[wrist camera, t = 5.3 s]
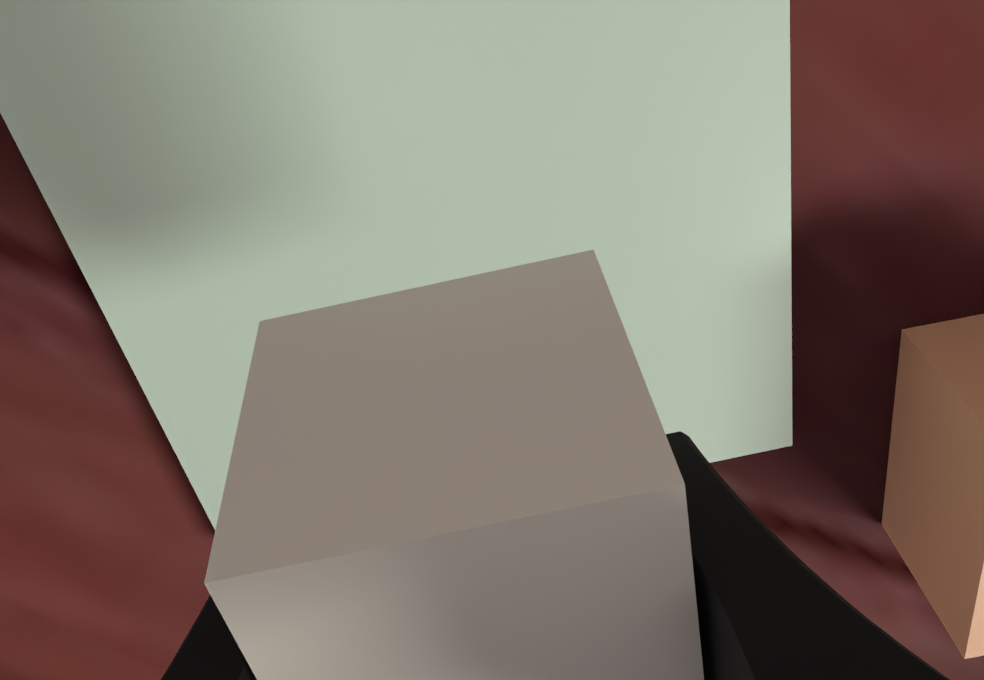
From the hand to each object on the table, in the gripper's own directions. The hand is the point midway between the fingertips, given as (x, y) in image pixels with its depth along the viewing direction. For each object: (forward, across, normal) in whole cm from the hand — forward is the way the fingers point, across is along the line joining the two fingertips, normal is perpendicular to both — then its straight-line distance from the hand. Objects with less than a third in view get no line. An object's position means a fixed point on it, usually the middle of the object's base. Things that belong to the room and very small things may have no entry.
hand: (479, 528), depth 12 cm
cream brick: (+2, 0, 0) cm, 2 cm away
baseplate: (+8, 0, 0) cm, 8 cm away
